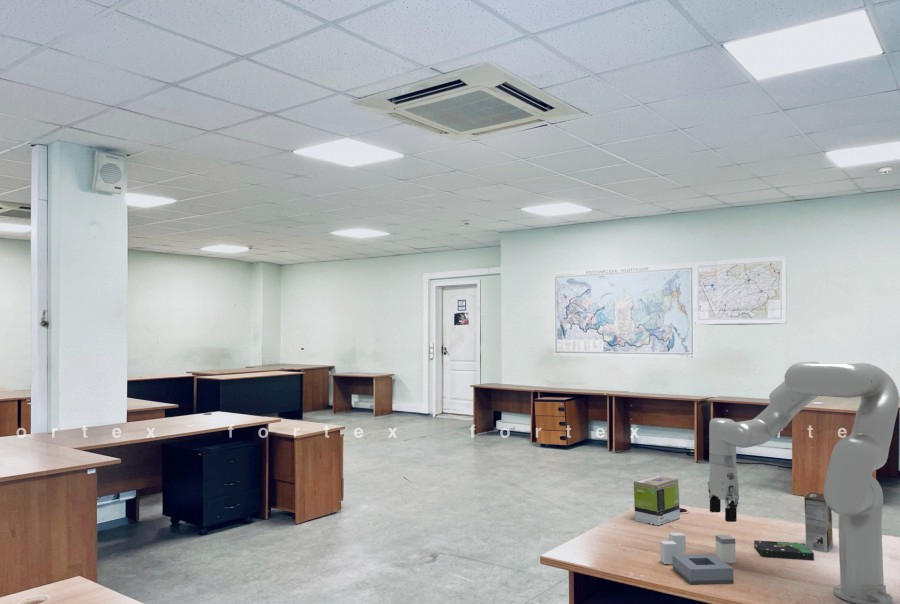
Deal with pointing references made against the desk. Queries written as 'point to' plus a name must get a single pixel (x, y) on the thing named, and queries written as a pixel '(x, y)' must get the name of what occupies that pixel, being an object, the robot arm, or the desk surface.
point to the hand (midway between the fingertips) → (722, 516)
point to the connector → (725, 548)
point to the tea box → (656, 500)
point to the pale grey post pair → (672, 547)
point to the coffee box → (818, 523)
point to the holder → (702, 569)
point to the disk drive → (783, 550)
